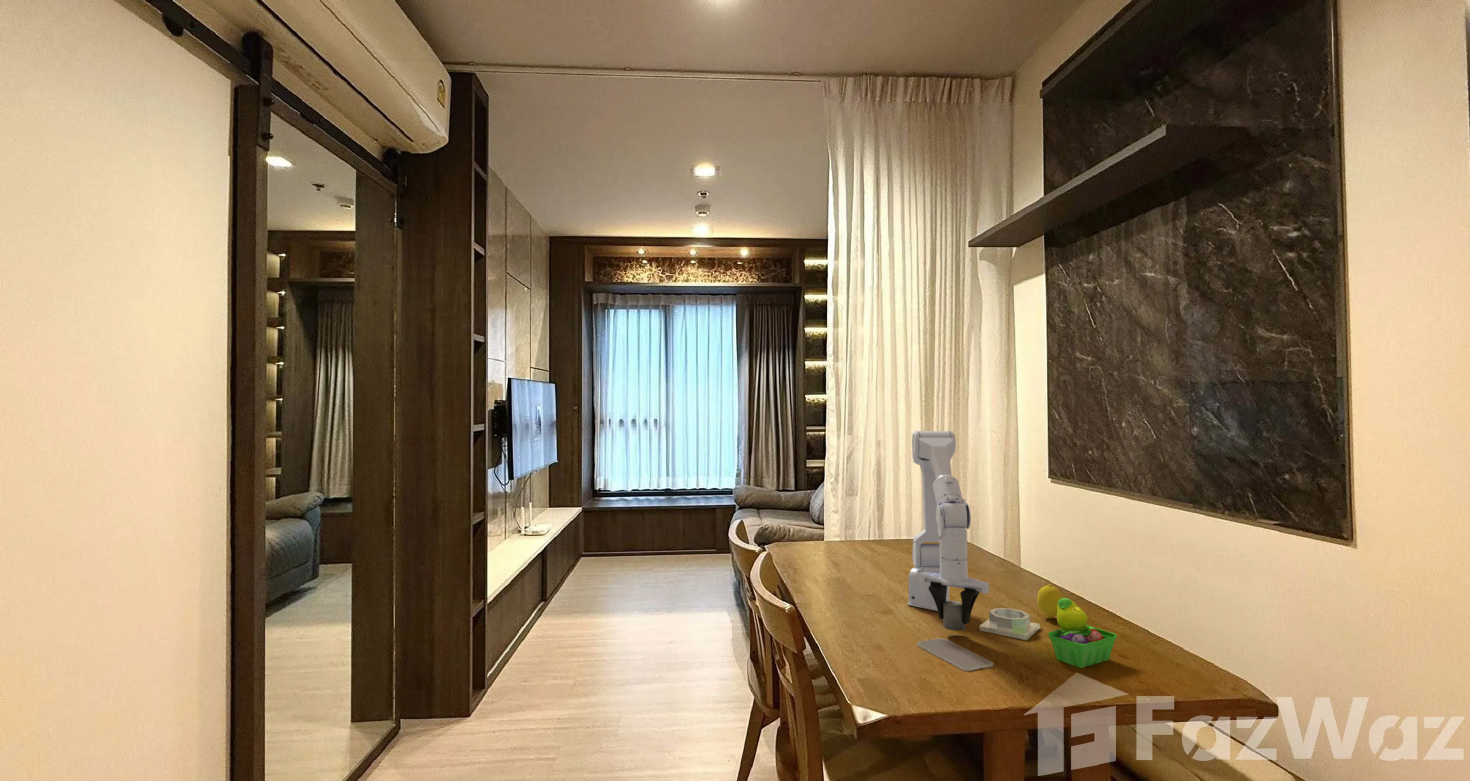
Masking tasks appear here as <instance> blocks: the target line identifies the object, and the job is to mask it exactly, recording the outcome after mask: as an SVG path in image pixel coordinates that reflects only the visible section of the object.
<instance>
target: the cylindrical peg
mask: <svg viewBox="0 0 1470 781" xmlns="http://www.w3.org/2000/svg"><path fill="white" fill-rule="evenodd" d="M962 616H963V608H962V601H957V600H949V601H945V602H943V619H942V622H943V623H942V625H943V628H944V629H946V630H949V631H955V632H957V631H959V632H960V631H965V630H966V627H967V626H966V625H967V624H963V620H962Z"/></svg>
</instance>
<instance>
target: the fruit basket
mask: <svg viewBox="0 0 1470 781" xmlns="http://www.w3.org/2000/svg"><path fill="white" fill-rule="evenodd" d="M1088 619H1089V618H1088V615H1087V613H1086V612H1085V611H1084V610H1083V609H1082V608H1081V607H1079V605H1077V604H1076V603H1075V601H1072V599H1070V598H1068V597H1062V599H1060V600H1059V601H1058V605H1057V616H1056V621H1057V624H1058V625H1059V626H1058V627H1060V629H1057V630H1053V631H1050V632H1048V633H1047V634H1048V637H1049V639H1050V641H1051V644H1052V645H1051V646H1052V648H1053V650H1054V654H1055V658H1056V660H1058V661H1060V662H1063V663H1066V664H1067V665H1071V666H1074V667H1077V668H1079V669H1082V668H1086V667H1089V666H1094V665H1095V664H1100V663H1102V662H1107V661H1110V659H1111V655H1112V654H1111V653H1112V651H1113V647H1114V644H1115V641H1116V640H1117V637H1118V635H1117V634H1115V633H1114V632H1110V631H1107V630H1105V629H1100V628H1096V627H1094V626H1091V625H1087V622H1088ZM1094 663H1095V664H1094Z"/></svg>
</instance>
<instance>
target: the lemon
mask: <svg viewBox="0 0 1470 781" xmlns="http://www.w3.org/2000/svg"><path fill="white" fill-rule="evenodd" d="M1036 596H1037V598H1036V604H1037V607H1038V609H1039V611H1040V613H1042V614H1043V615H1046V617H1047V618H1048V619H1052V618H1054V617H1057V605H1058V601H1059V600H1060V599H1062V598H1063V596H1062V593H1061V591H1060V590H1059V589H1058V588H1057V587H1055V586H1053V585H1052V584H1049V583H1048V584H1047V585H1044V586H1042V587H1041V588H1040V589H1039V590H1038V592H1037V595H1036Z"/></svg>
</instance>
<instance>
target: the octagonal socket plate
mask: <svg viewBox="0 0 1470 781" xmlns="http://www.w3.org/2000/svg"><path fill="white" fill-rule="evenodd" d="M988 613H989V615H988V616H989V618H988V619H986V620H985V621H984V622H983V623H981V624H980V625H979V631H981V632H986V633H990V634H996V635H1000V636H1005V637H1009V638H1014V639H1018V640H1023V641H1028V640H1029V639H1030V638H1032V637H1033V635H1034V634H1036V632H1038V631H1039V630H1040V629H1041V624H1040V623H1038V622H1031V615H1030V614H1028V613H1027V612H1025V611H1023V610H1019V609H1014V608H1008V607H1005V608H1004V607H1001V608H998V607H997V608H993V609H991V610H989V612H988Z"/></svg>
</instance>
